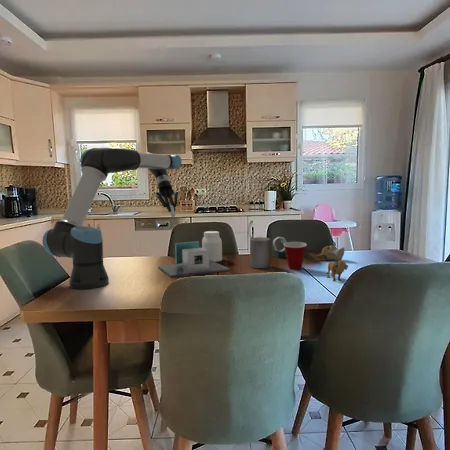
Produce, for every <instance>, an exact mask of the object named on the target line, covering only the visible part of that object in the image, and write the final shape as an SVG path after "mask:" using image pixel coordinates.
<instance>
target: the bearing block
mask: <svg viewBox="0 0 450 450" xmlns="http://www.w3.org/2000/svg"><path fill="white" fill-rule="evenodd" d="M182 254H183V263H181V264H176V263H173V264H172V263H171V264H165V265H163V264H162V265H158V267H157V268H158V269H159V270H160V271H161V272H163V273H164V274H166V275H167V276H168V277H170V278H171V279H172V278H179V277H189V276H195V275H204V274H205V275H206V274H213V273H220V272H230V268H229V267H227V266H224V265H222V264H220V263H218V262H214V261H211V260H210V261H209V250H207V249H204V248H202V247H200V248H193V249H182ZM194 256H198V257H199V259H198V261H194Z"/></svg>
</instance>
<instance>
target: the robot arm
mask: <svg viewBox="0 0 450 450" xmlns="http://www.w3.org/2000/svg"><path fill="white" fill-rule="evenodd" d="M79 163H80V171H81V173H82V175H81V177H80V178H79V182H78V183H77V186H76V188H75V190H74V192H73V194H72V196H71V199H70V200H69V202H68V205H67V207H66V210H65V212H64V213H63V215H62V218H61V219H59V220H57V221H56V222H55V224H54V226H53V228H50V229H48V230H46V231H45V232H44V234H43V236H42V246H43V249H44V251H45V252H46V253H47V254H48V255H50V256H53V257H57V258H71V259H72V270H71V273H70V276H69V281H68V285H69V286H68V287H69V288H71V289H74V290H91V289H96V288H101V287H104V286H106V285H108V284H109V283H110V281H109V280H110V279H109V275H108V272H107V270H106V268H105V264H104V248H103V247H104V245H103V242H104V241H103V233H102V230H101V229H99V228H97V227H94V226H83V225H84V224H85V223H84V222H85V220H86V218H87V215H88V214H89V211H90V208H91V207H92V203H93V201H94V199H95V196H96V194H97V192H98V190H99V188H100V186H101V183H102V182H105V181H106V179H107V177H108V175H109V174H112V173H120V172H127V171H136V170H138V169H147V170H148V171H149V172H150V173H151V174H152V175H153V176H154V178H155V181H156V185H157V189H158V191H156V193H155V198H157V199H158V200H159V202H160V204H161V205H162V207H163V208H166V210H167V212H169V213H170V216H171V218H175V216H176V208H177V206H178V196H179V192H178V191H175V190H174V189H173V187H172V183H171V180H170V177H169V174H168V170H177V169H180V168H181V167H182V164H183V163H182V158H181V156H180V155H179V154H162V153H151V152H139V151H137V150H136V149H130V148H124V147H118V146H109V147H108V146H107V147H93V148H89V149H87V150H84V151H83V153H82V154H81V156H80V158H79ZM173 197H174V198H173Z"/></svg>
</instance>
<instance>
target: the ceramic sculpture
mask: <svg viewBox="0 0 450 450" xmlns="http://www.w3.org/2000/svg"><path fill="white" fill-rule="evenodd" d="M345 250H346V249H345V247H340V248H339V247H336V246H335V245H334V244H332V243H330V244H329V246H328V245H327V246H324V247H323V248H322V249H321V252H319V254H317V255H313V258H316V259H318V260H326V261H333V260H336V262H337V261H339V260H343V257H344V254H345Z"/></svg>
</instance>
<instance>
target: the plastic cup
mask: <svg viewBox="0 0 450 450" xmlns="http://www.w3.org/2000/svg"><path fill="white" fill-rule="evenodd" d="M307 246H308V245H307V242H304V241H303V242H302V241H288V242H287V243H284V245H283V248H284V247H285V250H284V251H285V252H286V260H287V264H288V269H289V270H292V269H293V270H294V271H296V270H302V268H303V262H304V257H305V256H304V255H305V252H306V248H307Z"/></svg>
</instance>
